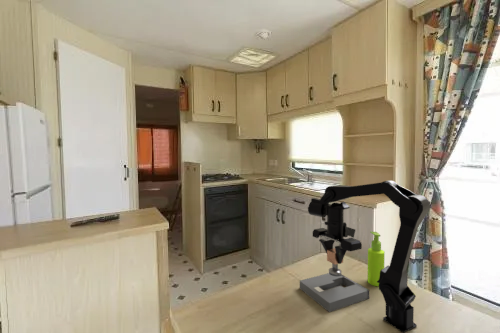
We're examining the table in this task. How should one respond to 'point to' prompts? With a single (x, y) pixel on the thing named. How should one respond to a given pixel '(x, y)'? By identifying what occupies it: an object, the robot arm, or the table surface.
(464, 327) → the table surface
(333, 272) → the key peg
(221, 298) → the table surface
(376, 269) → the soap dispenser
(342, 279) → the keyhole plate
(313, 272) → the table surface
